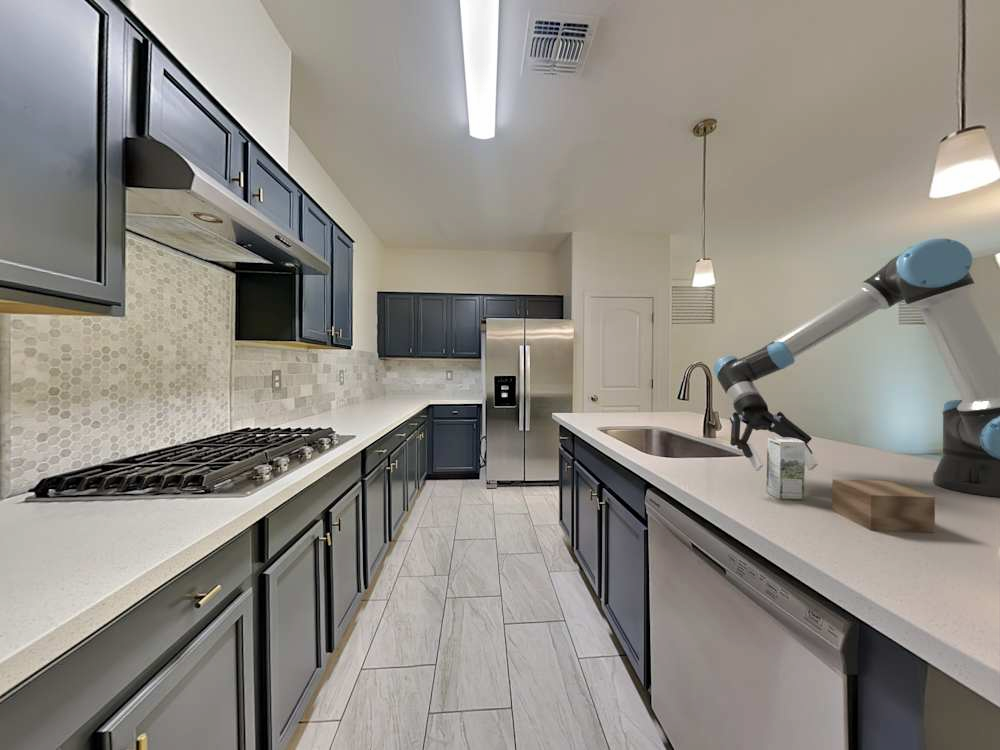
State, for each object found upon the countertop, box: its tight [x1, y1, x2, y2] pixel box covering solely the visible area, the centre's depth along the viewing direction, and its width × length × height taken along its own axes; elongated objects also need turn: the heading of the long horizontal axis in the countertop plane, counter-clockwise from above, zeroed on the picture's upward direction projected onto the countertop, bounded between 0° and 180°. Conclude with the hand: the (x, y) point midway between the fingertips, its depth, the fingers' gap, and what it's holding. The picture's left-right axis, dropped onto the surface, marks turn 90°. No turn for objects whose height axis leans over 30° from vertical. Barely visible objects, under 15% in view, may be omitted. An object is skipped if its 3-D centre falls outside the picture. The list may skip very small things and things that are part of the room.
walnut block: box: [831, 479, 936, 534], centre depth 83 cm, size 11×11×7 cm
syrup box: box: [766, 437, 806, 501], centre depth 99 cm, size 6×6×14 cm
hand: (786, 467), depth 98 cm, fingers open, 13 cm apart
